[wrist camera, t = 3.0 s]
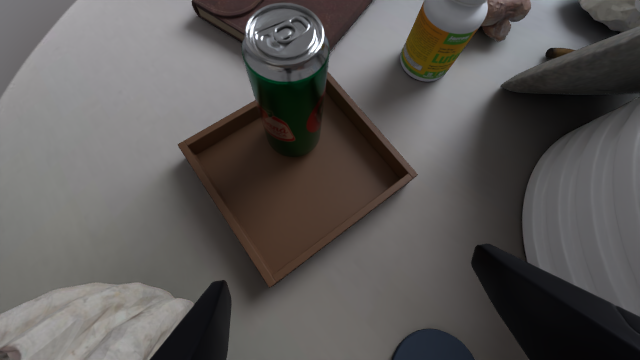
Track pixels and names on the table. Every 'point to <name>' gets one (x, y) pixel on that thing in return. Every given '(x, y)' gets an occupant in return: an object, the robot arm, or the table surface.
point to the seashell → (91, 323)
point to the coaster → (431, 347)
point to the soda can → (287, 74)
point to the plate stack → (590, 208)
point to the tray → (295, 181)
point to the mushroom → (503, 16)
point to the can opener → (557, 52)
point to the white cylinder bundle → (637, 5)
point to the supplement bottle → (440, 36)
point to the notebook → (241, 3)
